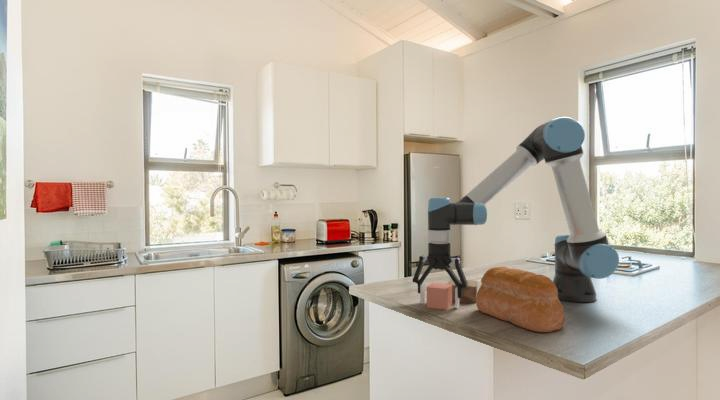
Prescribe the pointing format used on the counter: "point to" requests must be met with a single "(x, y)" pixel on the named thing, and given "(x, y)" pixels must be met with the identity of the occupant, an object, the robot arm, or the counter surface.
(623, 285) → the counter surface
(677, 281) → the counter surface
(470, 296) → the walnut plinth
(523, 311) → the bread
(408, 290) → the counter surface
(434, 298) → the pink cube
